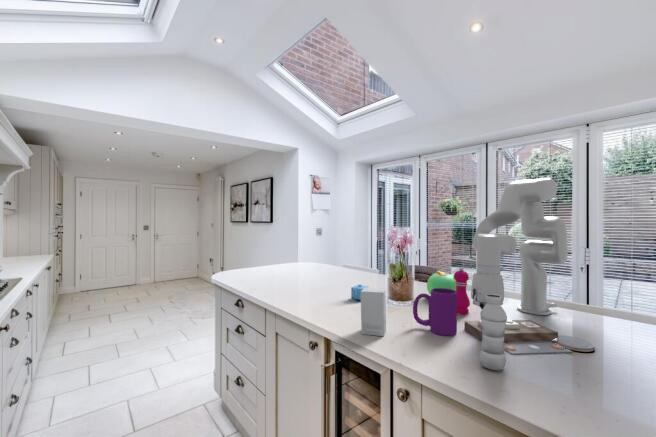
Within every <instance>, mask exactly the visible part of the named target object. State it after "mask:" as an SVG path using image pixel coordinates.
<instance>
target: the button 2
mask: <svg viewBox="0 0 656 437" xmlns="http://www.w3.org/2000/svg"><path fill="white" fill-rule="evenodd" d="M520 325H522V326H524V327H526V328H529V329H530V328H540V326H538V325H536V324H534V323H531V322H529V323H520Z"/></svg>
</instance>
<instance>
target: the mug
mask: <svg viewBox="0 0 656 437" xmlns="http://www.w3.org/2000/svg"><path fill="white" fill-rule="evenodd" d="M423 298H424V299H426V300H427V301H428V319H422V318H420V317H419V314H418V306H419V302H420V301H421V299H423ZM412 314H413V318H414V320H415V321H416V323H417V324H419V325H421V326H425V327H430V331H431V332H432V333H434V334H435V335H439V336H444V337H449V336H450V337H451V336H454V335H456V334H457V332H458V329H457V328H458V325H457V323H458V314H457V292H456V291H455V290H451V289H446V288H434V289H432V290H431V295H430V294H428V293H420V294H418V295H417V296H416V297H415V299H414V300H413V306H412Z"/></svg>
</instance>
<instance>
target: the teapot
mask: <svg viewBox="0 0 656 437" xmlns="http://www.w3.org/2000/svg"><path fill="white" fill-rule="evenodd" d="M364 288H370V287H369V286H368V285H367V286H366V285H362V284H356V285H355V286H351V290H350V292H351V295H350V298H351V299H353V301H358V300H359V301H360V302H361V291H362V290H363V289H364Z"/></svg>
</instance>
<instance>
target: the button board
mask: <svg viewBox="0 0 656 437" xmlns="http://www.w3.org/2000/svg"><path fill="white" fill-rule="evenodd" d="M511 320H512V321H514V322H516V323H518V324H519V329H506V328H505V334H504V344H507V343H543V342H553V341H552V340H553V339H555V338H558V339H559V332H558V331H556V330H555V329H552V328H549V327H547V326H545V325H543V324H541V323H538V322H536V321H533V319H511ZM478 321H479V320H464V330H466V331H467V332H468V333H469V334H472V335H473V336H474V337H476V338H477V339H478V340H480V341H481V342H482V327H480V326H479V325H478ZM529 322H531V323H534V324H536V325H538V326H540V328H530V329H529V328H526V327H524V326H522V325H520V323H529Z"/></svg>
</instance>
